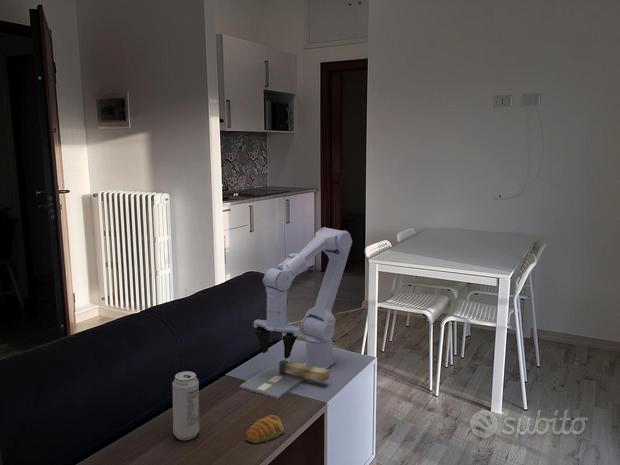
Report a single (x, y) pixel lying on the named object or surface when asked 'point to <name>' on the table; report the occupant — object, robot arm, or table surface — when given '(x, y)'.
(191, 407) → the energy drink can
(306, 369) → the bar
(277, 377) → the label board
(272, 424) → the pastry
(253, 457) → the table surface
